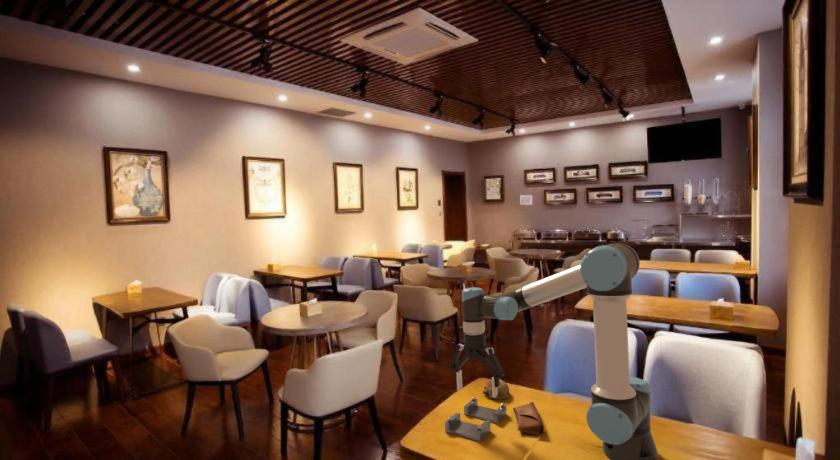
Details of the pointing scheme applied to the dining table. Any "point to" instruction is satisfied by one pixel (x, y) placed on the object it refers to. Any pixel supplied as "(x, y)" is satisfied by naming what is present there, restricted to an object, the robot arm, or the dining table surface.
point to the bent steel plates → (472, 430)
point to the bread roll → (502, 390)
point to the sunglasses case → (528, 419)
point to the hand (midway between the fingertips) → (477, 392)
